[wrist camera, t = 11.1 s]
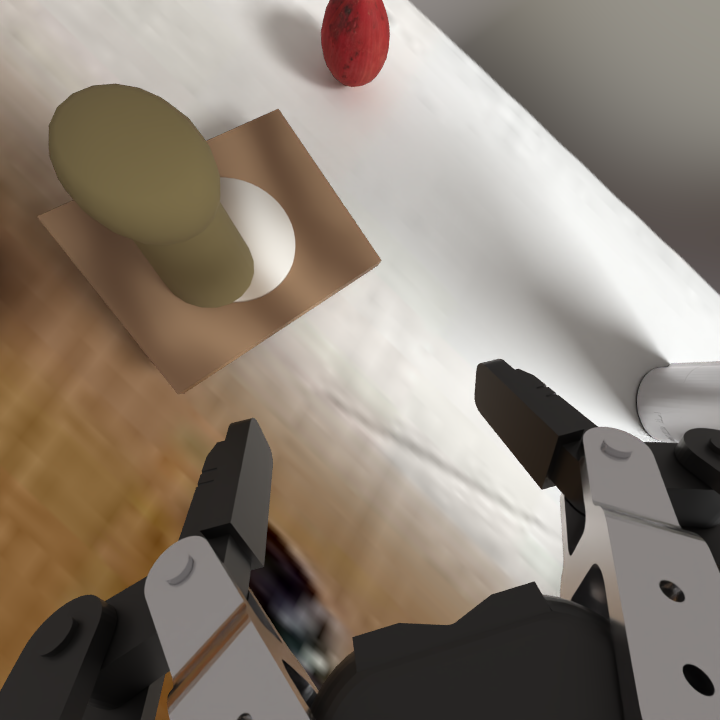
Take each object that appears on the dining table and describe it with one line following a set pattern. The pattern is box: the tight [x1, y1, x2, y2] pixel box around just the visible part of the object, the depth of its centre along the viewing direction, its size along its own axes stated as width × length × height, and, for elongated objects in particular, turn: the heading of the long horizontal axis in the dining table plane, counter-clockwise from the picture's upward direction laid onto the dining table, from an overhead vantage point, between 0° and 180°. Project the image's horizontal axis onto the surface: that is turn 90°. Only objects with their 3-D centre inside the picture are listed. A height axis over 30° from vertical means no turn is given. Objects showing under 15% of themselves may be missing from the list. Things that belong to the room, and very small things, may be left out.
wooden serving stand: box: [37, 109, 381, 394], centre depth 23 cm, size 18×14×5 cm
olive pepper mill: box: [49, 84, 254, 308], centre depth 15 cm, size 6×6×11 cm
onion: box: [321, 0, 390, 87], centre depth 25 cm, size 6×6×8 cm
